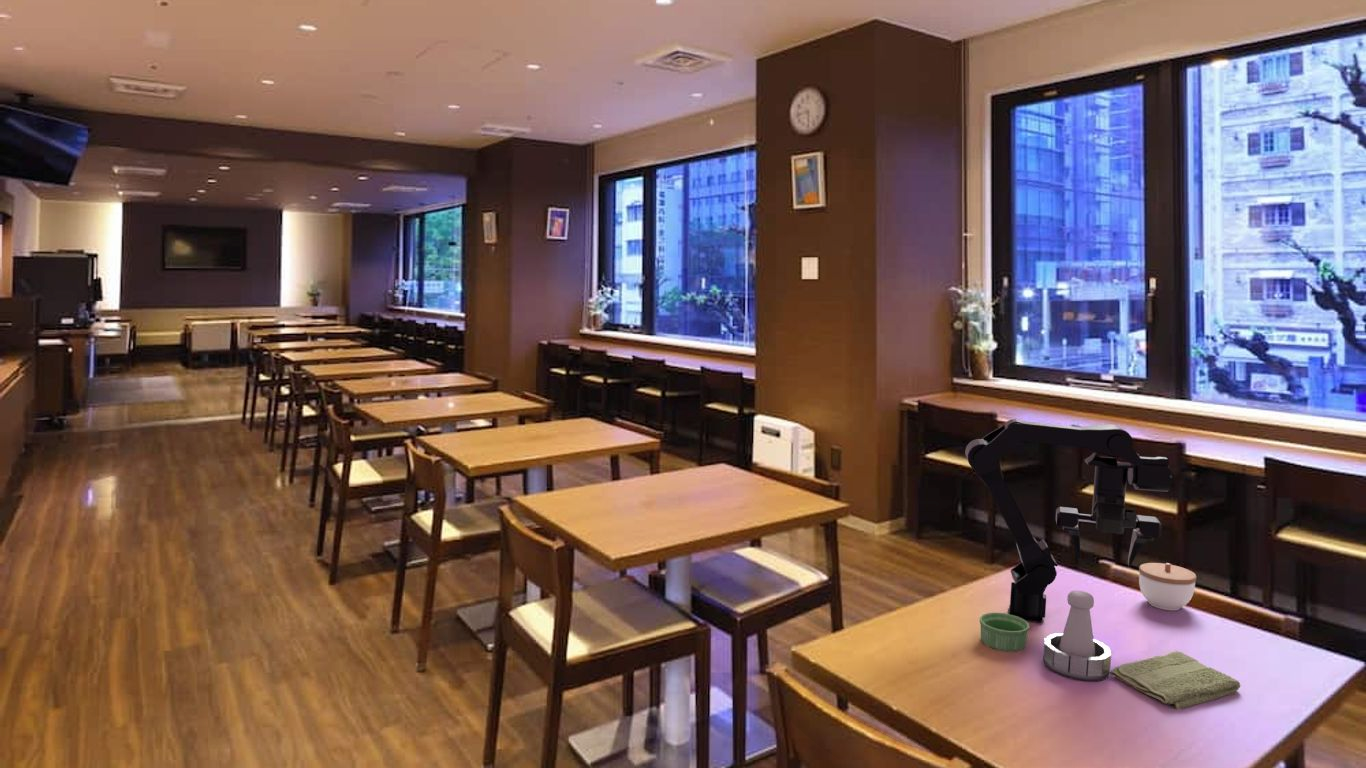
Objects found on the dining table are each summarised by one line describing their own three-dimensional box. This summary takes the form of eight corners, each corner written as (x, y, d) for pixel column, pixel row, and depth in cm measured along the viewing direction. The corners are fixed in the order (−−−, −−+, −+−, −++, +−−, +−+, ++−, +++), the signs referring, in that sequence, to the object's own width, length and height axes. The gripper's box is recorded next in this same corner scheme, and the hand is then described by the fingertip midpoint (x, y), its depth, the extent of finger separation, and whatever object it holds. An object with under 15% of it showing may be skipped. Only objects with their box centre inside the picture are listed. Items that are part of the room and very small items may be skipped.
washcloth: (1105, 678, 145) (1106, 660, 145) (1177, 663, 151) (1178, 646, 151) (1171, 714, 133) (1173, 696, 132) (1247, 697, 139) (1248, 679, 138)
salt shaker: (1087, 655, 150) (1093, 588, 149) (1098, 670, 145) (1104, 600, 143) (1054, 653, 151) (1059, 586, 149) (1064, 667, 145) (1069, 598, 144)
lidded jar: (1129, 604, 178) (1132, 562, 177) (1146, 592, 185) (1149, 552, 184) (1184, 619, 170) (1188, 576, 169) (1199, 606, 177) (1203, 564, 176)
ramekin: (977, 648, 155) (978, 626, 155) (979, 630, 164) (980, 609, 163) (1028, 657, 152) (1029, 634, 151) (1027, 638, 160) (1029, 616, 160)
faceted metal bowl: (1043, 674, 145) (1044, 652, 145) (1042, 649, 155) (1043, 629, 155) (1112, 686, 141) (1114, 664, 140) (1106, 660, 151) (1108, 639, 150)
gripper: (1060, 491, 160) (1054, 568, 162) (1169, 502, 153) (1162, 582, 155) (1058, 479, 170) (1053, 551, 172) (1160, 489, 163) (1153, 564, 165)
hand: (1103, 562), depth 166 cm, fingers open, 9 cm apart
